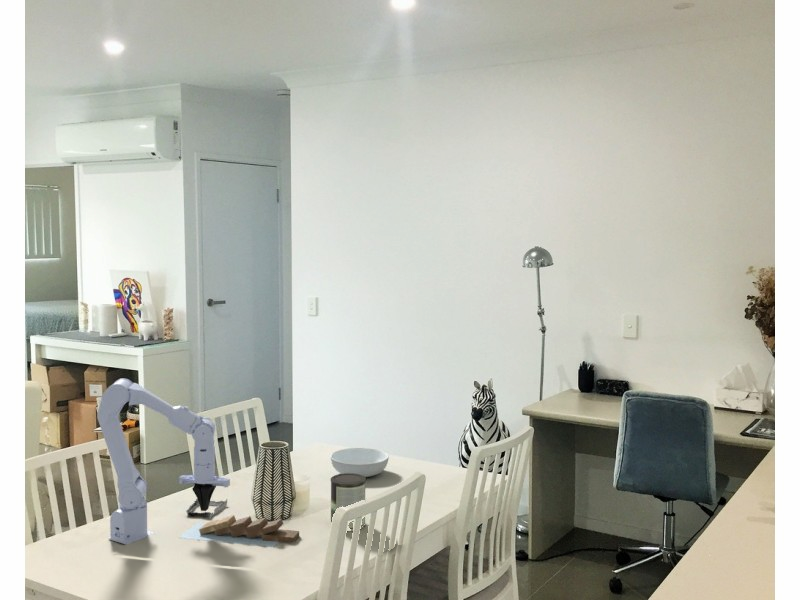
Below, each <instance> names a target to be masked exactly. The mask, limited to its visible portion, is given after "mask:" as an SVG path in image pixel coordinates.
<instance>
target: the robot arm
mask: <svg viewBox="0 0 800 600" xmlns="http://www.w3.org/2000/svg"><path fill="white" fill-rule="evenodd" d="M100 399H101V400H100V403H99V407H98V411H97V415H96V417H97V421H98V424H99V426H100V430H101V432H102V436H103V438H104V441H105V444H106V447H107V450H108V453H109V455H110V458H111V461H112V464H113V467H114V470H115V473H116V476H117V482H116V483H117V490H118V496H117V497H118V498H117V499H118V502H119V507H118V508H117V509H116V510H115V511H113V512H112V513H111V515H110V520H109V521H110V524H109V525H110V528H109V529H110V536H108V540H110V541H114V542H116V543H119V544H120V543H121V544H124V545H128V544H131V543H133V542H136V541H138V540H141V539H143V538H146V537H149V536H151V535H153V534H155V532H153V531H150V530H148V501H147V500H146V498H145V496H146V494H147V493H148V486H149V485H148V482H146V480H145V479H144V478H143V477H142V475H141V473H140V471H139V470H138V469H137V468H136V466H135V463H134V459H133V457H132V454H131V452H130V448H129V445H128V442H127V439H126V436H125V433H124V430H123V427H122V425H121V422H120V419H119V414H120V413H121V411H122V409H123V407H124V406H125V404H126V403H128V406H135V405H142V406H145V407H147V408H148V409H151V410H153V411H155V412H157V413H159V414H161V415H163V416H165V417H166V418H167V419H168V423H169V424H170V425H171V426H173V427H175V428H177V429H178V430H180V431H182V432H184V433H185V434H187V435H192V436H191V437H192V439H193V440H194V446H193V474H189V475H188V474H183V475H180V476H179V477H178V484H179V485H183V484H188V485H193V487H192V489H191V490H192V492H193V493H194V495H195V496H196V499H198V501H199V505H198V506H199V508H200V511H201V512H207V510H209V506H210V505H209V503H210V501H211V498H212V496H213V494H214V491H215V489H216V487H223V488H228V487H229V486H230V485H231V479H230V478H225V477H221V476H216V472H215V471H216V467H215V466H216V465H215V463H216V462H215V461H216V459H215V458H216V456H215V455H216V453H215V452H216V449H215V448H216V447H215V437H214V436H215V433H216V425H215V423H214V422H213V421H212V420H211V419H210V417H209V418H208V417H204V416H203V415H202V414H201V415H198V414H196V413H195V412H193V411H191V410H190V409H189V408H190V407H189V406H187V405H185V406H183V405H176V406H174V405H172V404H170V403H169V402H168V401H165V400H163V399H162V398H161V397H159V396H157V395H156V394H154V393H153V392H151V391H149V390H148V389H146V388H145V387H143V386H141V384H139V383H136V382H133V381H132V380H130V379H128V378H119V379H117V380H116V381H114V383H112V384H111V385H109V386H108V387H107V388H106V389H105V391H104V392H103V393H102V395H101V398H100Z"/></svg>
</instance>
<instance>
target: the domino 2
mask: <svg viewBox="0 0 800 600" xmlns="http://www.w3.org/2000/svg"><path fill="white" fill-rule="evenodd" d="M268 522H269V521H268V520H267V517H263V518H259V519H256V520H253V521H252V522H251V523H250V524H249V525H248V526H247V527H246V528H243V529H240V530H236V531H233V532H231V535H232V537H237V536H240V535H243V534H246V533H250V532H253V531H256V530H260V529H262V528H263V527H264V526H265V525H266V524H267V523H268Z"/></svg>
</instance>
